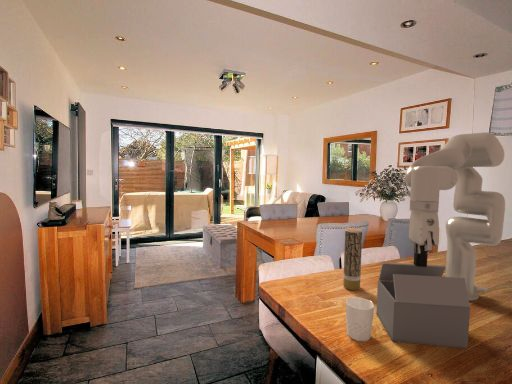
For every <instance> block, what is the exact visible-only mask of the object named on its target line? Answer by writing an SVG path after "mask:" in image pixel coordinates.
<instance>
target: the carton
mask: <svg viewBox="0 0 512 384" xmlns="http://www.w3.org/2000/svg"><path fill="white" fill-rule="evenodd" d="M376 291H377V292H376V317H377V318H378V320H379V321H380V322H381V324H382V325H381V326H383V328H384V329H385V332H386V333H387V335H388V336H389V339H390V340H391V342H394V343H402V344H403V343H404V344H414V345H426V346H438V347H447V348H450V347H451V348H459V349H460V348H462V349H468V348H469V347H468V344H469V329H470V319H471V318H470V315H471V306H470V307H466V306H452V305H437V304H423V303H408V302H396V299H395V289H394V281H382V280H379V279H378V280H377V290H376Z"/></svg>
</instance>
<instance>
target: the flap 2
mask: <svg viewBox="0 0 512 384" xmlns="http://www.w3.org/2000/svg"><path fill="white" fill-rule="evenodd" d="M393 279H394V289H395V299H396V302H408V303H423V304H437V305H452V306H466V307H470V308H471V305H470V304H471V303H470V301H469V299H468V293H467V288H466V283H465V278H455V277H445V276H442V277H437V276H420V275H402V274H393Z"/></svg>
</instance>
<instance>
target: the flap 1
mask: <svg viewBox="0 0 512 384" xmlns="http://www.w3.org/2000/svg"><path fill="white" fill-rule="evenodd" d="M445 271H446V265H439V264H438V265H437V264H427V267H417V266H415V265H414V263H403V262H402V263H401V262H400V263H399V262H382V263H381V268H380V272H379V276H378V280H380V281H394V279H393V274H402V275H420V276H437V277H443V275H444V272H445Z"/></svg>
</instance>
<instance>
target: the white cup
mask: <svg viewBox="0 0 512 384" xmlns="http://www.w3.org/2000/svg"><path fill="white" fill-rule="evenodd" d="M345 300H346V301H345V306H346V307H345V317H346V319H345V321H346V322H345V323H346V334H347V336H348V337H349V338H351V339H352V340H354V341H357V342H368V341H369V340H370V339H371V338H372V337H371V336H372V330H373V321H374V310H375V309H374V308H375V304H374V302H373V301H371V300H370V299H366V298H364V297H359V296H358V297H356V296H355V297H353V296H352V297H348V298H346V299H345Z"/></svg>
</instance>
